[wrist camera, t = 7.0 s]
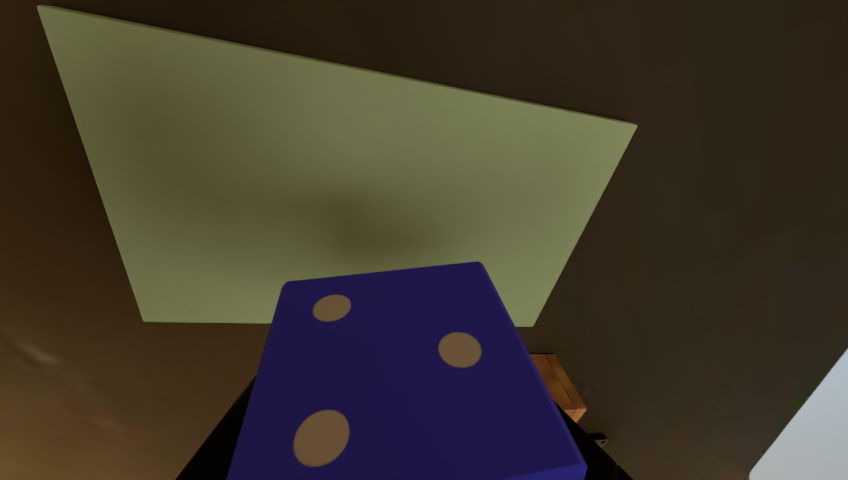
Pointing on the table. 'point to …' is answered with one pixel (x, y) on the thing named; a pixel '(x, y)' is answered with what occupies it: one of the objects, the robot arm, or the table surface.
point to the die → (400, 385)
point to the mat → (315, 170)
